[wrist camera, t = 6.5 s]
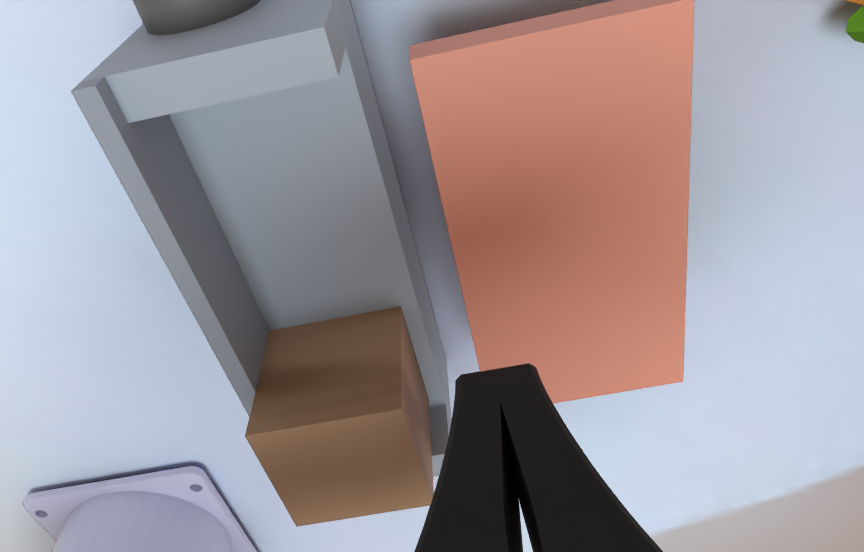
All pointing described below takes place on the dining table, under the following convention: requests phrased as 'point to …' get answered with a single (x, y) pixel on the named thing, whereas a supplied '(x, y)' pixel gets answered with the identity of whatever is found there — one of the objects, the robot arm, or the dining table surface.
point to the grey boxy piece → (264, 176)
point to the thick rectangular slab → (568, 189)
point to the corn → (856, 23)
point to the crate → (343, 418)
